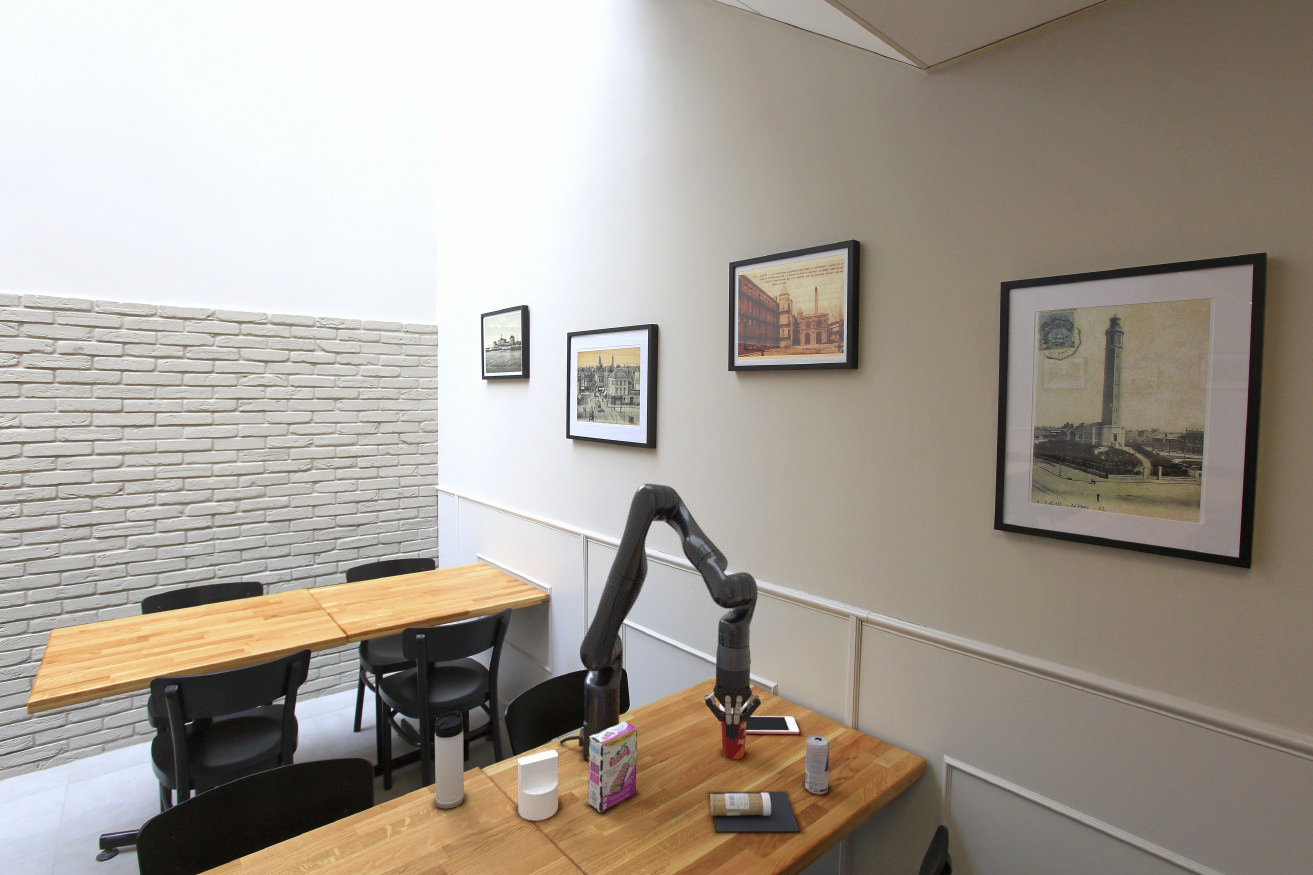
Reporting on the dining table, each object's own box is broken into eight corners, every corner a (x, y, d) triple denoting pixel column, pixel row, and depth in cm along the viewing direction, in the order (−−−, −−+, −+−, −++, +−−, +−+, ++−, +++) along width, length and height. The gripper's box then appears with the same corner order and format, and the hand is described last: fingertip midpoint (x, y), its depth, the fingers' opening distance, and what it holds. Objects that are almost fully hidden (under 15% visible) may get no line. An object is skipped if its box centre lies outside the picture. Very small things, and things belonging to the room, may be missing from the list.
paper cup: (749, 761, 169) (750, 708, 169) (720, 760, 169) (720, 708, 169) (746, 745, 177) (746, 695, 176) (717, 745, 177) (718, 694, 177)
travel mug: (470, 795, 154) (469, 712, 153) (452, 811, 148) (451, 725, 147) (447, 789, 156) (447, 708, 155) (429, 805, 150) (428, 721, 149)
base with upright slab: (524, 824, 143) (524, 771, 143) (513, 802, 151) (513, 752, 151) (563, 813, 148) (563, 761, 147) (550, 792, 156) (550, 743, 155)
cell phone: (799, 734, 183) (799, 731, 183) (735, 733, 183) (735, 730, 183) (793, 719, 192) (793, 716, 192) (732, 718, 192) (732, 715, 192)
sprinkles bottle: (710, 821, 145) (771, 820, 145) (711, 804, 144) (772, 804, 144) (709, 804, 150) (767, 803, 150) (709, 788, 149) (768, 787, 149)
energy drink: (829, 785, 159) (830, 737, 158) (825, 797, 154) (826, 747, 153) (807, 779, 161) (808, 732, 161) (803, 791, 156) (803, 742, 156)
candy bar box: (601, 814, 147) (601, 744, 146) (587, 804, 151) (587, 735, 150) (637, 794, 155) (638, 726, 154) (623, 785, 159) (624, 719, 158)
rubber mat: (716, 832, 141) (716, 830, 141) (710, 793, 155) (710, 792, 155) (799, 832, 142) (799, 830, 142) (785, 793, 156) (785, 791, 155)
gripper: (759, 656, 149) (758, 730, 150) (702, 655, 149) (700, 729, 150) (765, 669, 142) (763, 747, 143) (705, 669, 141) (703, 746, 142)
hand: (731, 738), depth 146 cm, fingers closed
